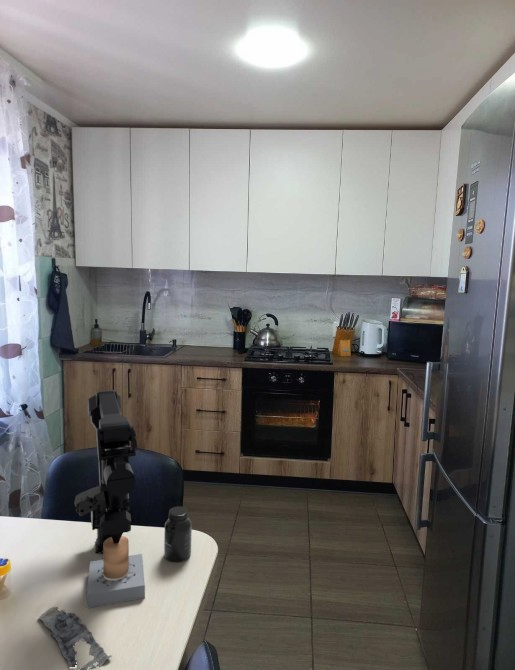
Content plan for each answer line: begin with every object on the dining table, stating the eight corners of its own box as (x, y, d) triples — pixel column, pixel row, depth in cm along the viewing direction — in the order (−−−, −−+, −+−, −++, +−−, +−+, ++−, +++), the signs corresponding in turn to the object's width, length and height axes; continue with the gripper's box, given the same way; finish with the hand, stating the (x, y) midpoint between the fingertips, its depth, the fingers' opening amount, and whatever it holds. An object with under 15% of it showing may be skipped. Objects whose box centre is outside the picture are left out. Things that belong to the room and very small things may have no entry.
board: (90, 573, 107) (90, 561, 107) (142, 565, 111) (142, 553, 111) (87, 607, 96) (86, 594, 96) (144, 597, 99) (144, 585, 99)
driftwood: (35, 619, 93) (35, 609, 93) (68, 603, 98) (68, 594, 98) (75, 685, 78) (75, 674, 78) (112, 663, 83) (111, 653, 83)
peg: (103, 577, 105) (103, 537, 104) (128, 573, 107) (128, 534, 106) (103, 593, 100) (102, 551, 99) (129, 589, 102) (129, 547, 100)
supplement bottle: (159, 560, 113) (159, 515, 112) (171, 545, 120) (171, 502, 118) (185, 565, 111) (185, 519, 110) (195, 549, 118) (195, 506, 117)
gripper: (80, 464, 107) (81, 526, 109) (72, 500, 89) (74, 573, 91) (128, 459, 110) (129, 520, 112) (130, 493, 93) (131, 564, 94)
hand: (116, 542), depth 102 cm, fingers closed, pressing on peg
